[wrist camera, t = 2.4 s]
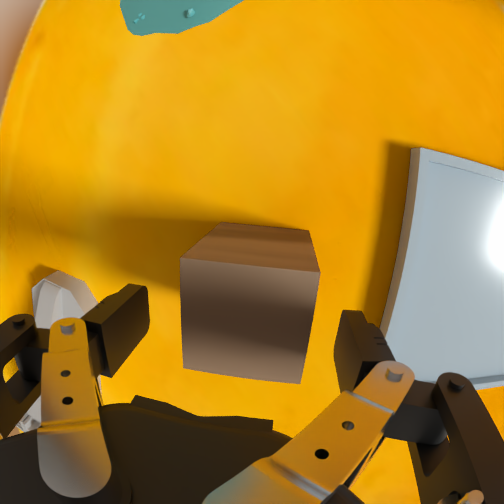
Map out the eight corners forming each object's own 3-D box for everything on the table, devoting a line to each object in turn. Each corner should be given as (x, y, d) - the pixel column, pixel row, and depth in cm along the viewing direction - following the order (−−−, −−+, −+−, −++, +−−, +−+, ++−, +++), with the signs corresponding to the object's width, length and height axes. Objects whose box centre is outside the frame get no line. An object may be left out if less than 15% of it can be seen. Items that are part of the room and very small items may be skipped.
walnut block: (221, 222, 18) (180, 257, 11) (308, 230, 17) (320, 272, 10) (218, 301, 19) (183, 368, 12) (298, 310, 19) (300, 383, 12)
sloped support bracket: (101, 287, 20) (30, 340, 13) (106, 432, 26) (73, 483, 18) (47, 263, 20) (-25, 302, 13) (63, 409, 26) (27, 454, 18)
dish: (411, 148, 15) (420, 147, 14) (566, 198, 13) (577, 201, 12) (362, 383, 20) (365, 396, 18) (513, 374, 18) (520, 382, 17)
